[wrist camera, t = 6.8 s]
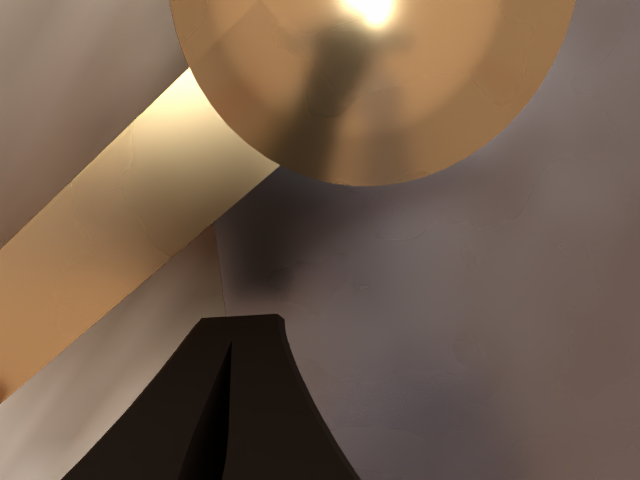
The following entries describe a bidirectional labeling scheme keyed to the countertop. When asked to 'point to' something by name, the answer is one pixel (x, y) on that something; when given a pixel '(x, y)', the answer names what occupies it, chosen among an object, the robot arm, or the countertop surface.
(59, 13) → the countertop surface
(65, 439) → the countertop surface
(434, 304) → the grey metal plate
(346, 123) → the knob
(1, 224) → the countertop surface
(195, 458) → the robot arm
